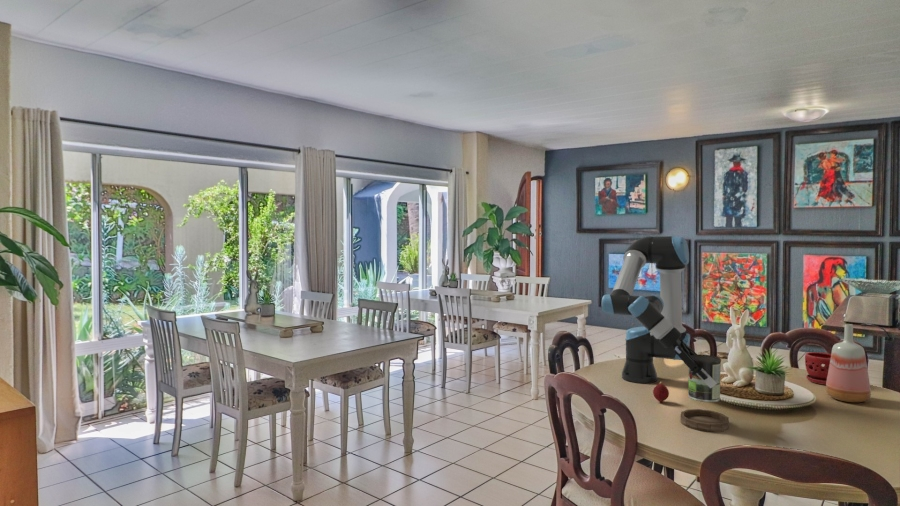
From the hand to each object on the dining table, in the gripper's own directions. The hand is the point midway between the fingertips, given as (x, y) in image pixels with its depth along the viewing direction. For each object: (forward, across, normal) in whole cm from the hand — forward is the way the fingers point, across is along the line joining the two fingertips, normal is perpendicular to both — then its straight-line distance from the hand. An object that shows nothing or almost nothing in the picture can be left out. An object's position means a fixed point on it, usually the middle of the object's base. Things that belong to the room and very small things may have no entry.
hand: (714, 381), depth 193 cm
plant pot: (+40, -76, +19) cm, 88 cm away
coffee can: (+2, 0, -6) cm, 7 cm away
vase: (+44, -52, +23) cm, 71 cm away
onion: (-2, -20, -24) cm, 31 cm away
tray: (+9, 0, -13) cm, 16 cm away
